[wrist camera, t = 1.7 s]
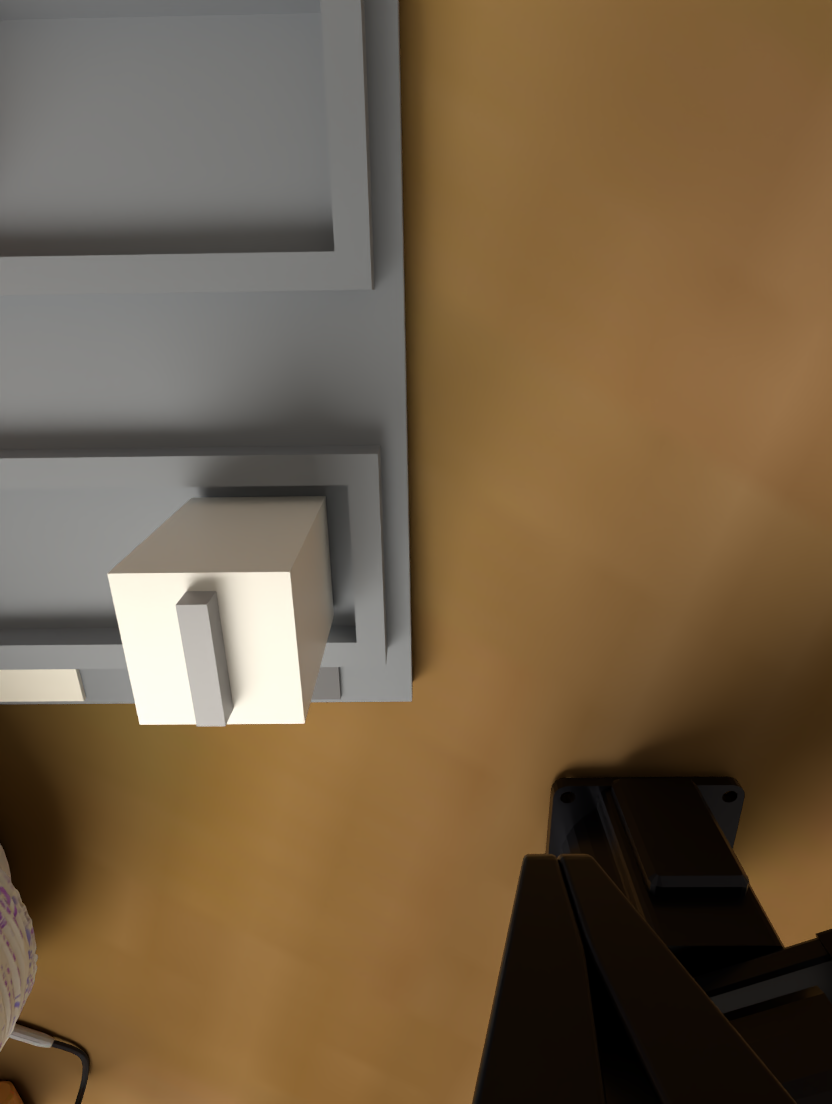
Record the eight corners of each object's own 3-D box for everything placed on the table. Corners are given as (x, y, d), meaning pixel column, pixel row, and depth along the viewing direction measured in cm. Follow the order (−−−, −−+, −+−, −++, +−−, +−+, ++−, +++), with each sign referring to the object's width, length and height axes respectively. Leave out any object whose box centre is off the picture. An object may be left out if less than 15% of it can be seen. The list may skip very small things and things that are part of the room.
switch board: (412, 683, 21) (411, 721, 19) (-73, 686, 21) (-120, 724, 19) (396, -131, 13) (392, -198, 12) (-358, -112, 14) (-481, -176, 12)
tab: (334, 615, 19) (299, 741, 13) (210, 616, 19) (128, 742, 13) (325, 496, 17) (283, 584, 12) (192, 497, 17) (92, 586, 12)
